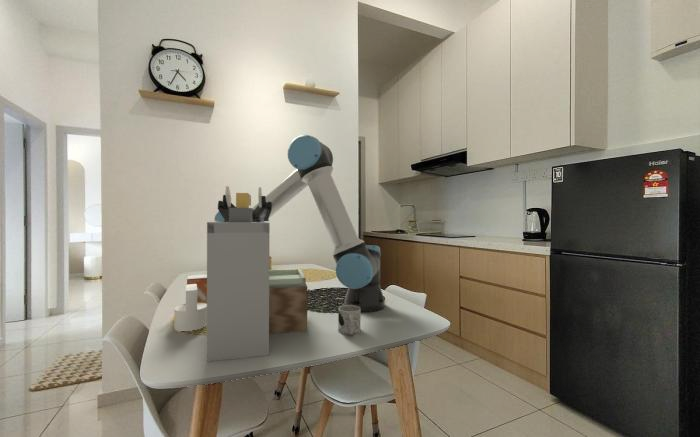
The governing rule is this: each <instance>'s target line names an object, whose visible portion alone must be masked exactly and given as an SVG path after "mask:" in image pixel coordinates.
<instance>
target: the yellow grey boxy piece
mask: <svg viewBox="0 0 700 437" xmlns="http://www.w3.org/2000/svg"><path fill="white" fill-rule="evenodd" d="M251 206H252V195H251V194H250V193H248V192H236V193H235V207H236V208H229V222H253V207H251Z"/></svg>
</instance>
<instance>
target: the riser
mask: <svg viewBox="0 0 700 437" xmlns="http://www.w3.org/2000/svg"><path fill="white" fill-rule="evenodd" d="M302 331H308V285H307V284H306V286H304V287H285V288H269V335H270V334H279V333H280V334H281V333H291V332H302Z"/></svg>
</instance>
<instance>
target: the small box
mask: <svg viewBox="0 0 700 437" xmlns="http://www.w3.org/2000/svg"><path fill="white" fill-rule="evenodd" d="M189 284H197V303H206V304H207V273H206V274H195V275H194V274H193V275H187V278H186V285H189Z"/></svg>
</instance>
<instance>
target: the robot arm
mask: <svg viewBox="0 0 700 437" xmlns="http://www.w3.org/2000/svg"><path fill="white" fill-rule="evenodd" d="M290 142H291V141H290ZM287 159H288V161H289V163H290V164H291V166H292V167H293V168H294V169H295V170H294V171H293V172H292V173H291V174H289V176H287V177H286V178H285V179H284V180H283V181H282V182H280V183H279V184H278V185H277V186H276V187H274V189H273V190H271V191H270V192H269V193H268V194H267V195H263V194H262V187H261V186H259V187H258V192H257V193H258V196H257V197H258V202H257V204H255V205H254V206H253V207H252V208H253V222H264V221H270V218H271V217H272V216H274V215H275V214H276V213H277V212H278V211H280V210H281V209H282V208H283V207H284V206H286V204H288V203H289V202H290V201H292V199H293V198H295V197H296V196H297V195H299V194H300V193H301V192H303V190H305V189H306V188H307V187H309V190H310V192H311V195H312V197H313V199H314V202H315V204H316V206H317V209H318V211H319V214H320V216H321V218H322V221H323V224H324V226H325V228H326V231H327V233H328V235H329V238H330V241H331V243H332V245H333V246H334V250H333V251H332V256H333V259H334V261H335V264H336V265H335V274H336V275H335V276H336V277H337V279H338V281H339V282H340V284H342V285H343V286H344V287H346V288H348V289H347V291H346V293H345V298H344V305H355V306H359V307H360V308H361V312H365V313H366V312H367V313H368V312H375V311H376V310H377V311H380V309H381V310H382V308H383V309H384V308H385V297H384V295H383V292H382V288H381V255H382V253H381V247H380V246H378V245H369V244H368V245H367V244H366V242H365V240H363V239H360V238H359V237H358V235H357V233H356V230H355V227H354V226H353V223H352V220H351V218H350V216H349V214H348V211H347V208H346V207H345V204H344V202H343V200H342V198H341V195H340V193H339V190H338V188H337V186H336V183H335V180H334V179H333V176H332V173H333V170H334V168H333V162H334V156H333V152H332V150H331V149H330V148H329V146H327V145H326V144H324V143H322V142H321V141H320V140H319V139H318V138H316V137H314V136H312V135H309V134H303V135H299V136H297V137H295V138H294V139H293V140H292V142H291V143H290V144H289V146H288V149H287ZM229 208H236V205H234V204H233V203H232V196H231V192H230V186H227V185H225V193H224V194H222V200H218V203H217V210H218V212H216V214H215V215H214V221H222V222H229ZM377 311H376V312H377Z"/></svg>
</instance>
